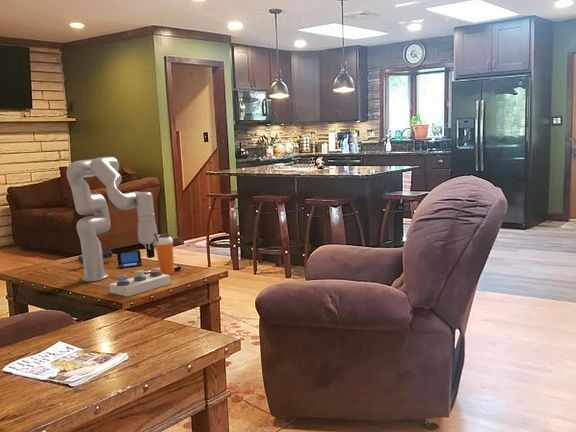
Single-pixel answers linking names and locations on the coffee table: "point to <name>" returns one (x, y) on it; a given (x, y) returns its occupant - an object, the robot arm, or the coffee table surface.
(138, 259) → the object
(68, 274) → the coffee table surface
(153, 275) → the button panel
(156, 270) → the button terracotta
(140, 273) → the button sage
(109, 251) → the bomb
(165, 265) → the shaker bottle
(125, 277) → the button slate
